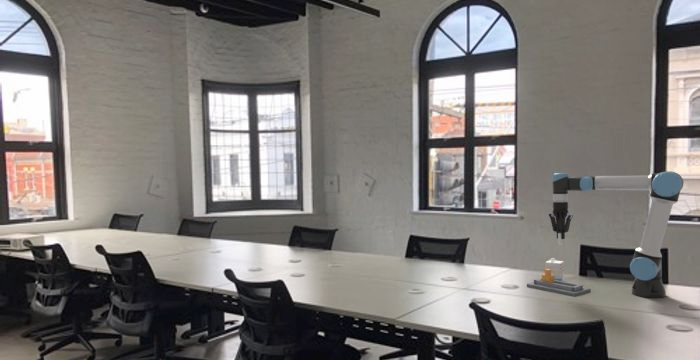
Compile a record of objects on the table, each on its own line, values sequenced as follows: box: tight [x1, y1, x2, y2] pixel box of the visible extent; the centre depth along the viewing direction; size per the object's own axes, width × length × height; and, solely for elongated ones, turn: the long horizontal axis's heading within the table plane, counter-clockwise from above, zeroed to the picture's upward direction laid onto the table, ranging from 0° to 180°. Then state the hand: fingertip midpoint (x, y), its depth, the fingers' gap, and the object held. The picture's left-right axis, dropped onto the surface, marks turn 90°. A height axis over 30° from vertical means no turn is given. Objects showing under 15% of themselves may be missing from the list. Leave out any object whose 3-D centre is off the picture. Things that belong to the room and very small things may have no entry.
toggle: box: [541, 269, 554, 283], centre depth 275 cm, size 5×4×8 cm
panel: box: [526, 277, 592, 297], centre depth 270 cm, size 28×16×4 cm, turn 36°
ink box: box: [544, 257, 565, 282], centre depth 288 cm, size 9×8×13 cm
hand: (560, 244), depth 268 cm, fingers closed
